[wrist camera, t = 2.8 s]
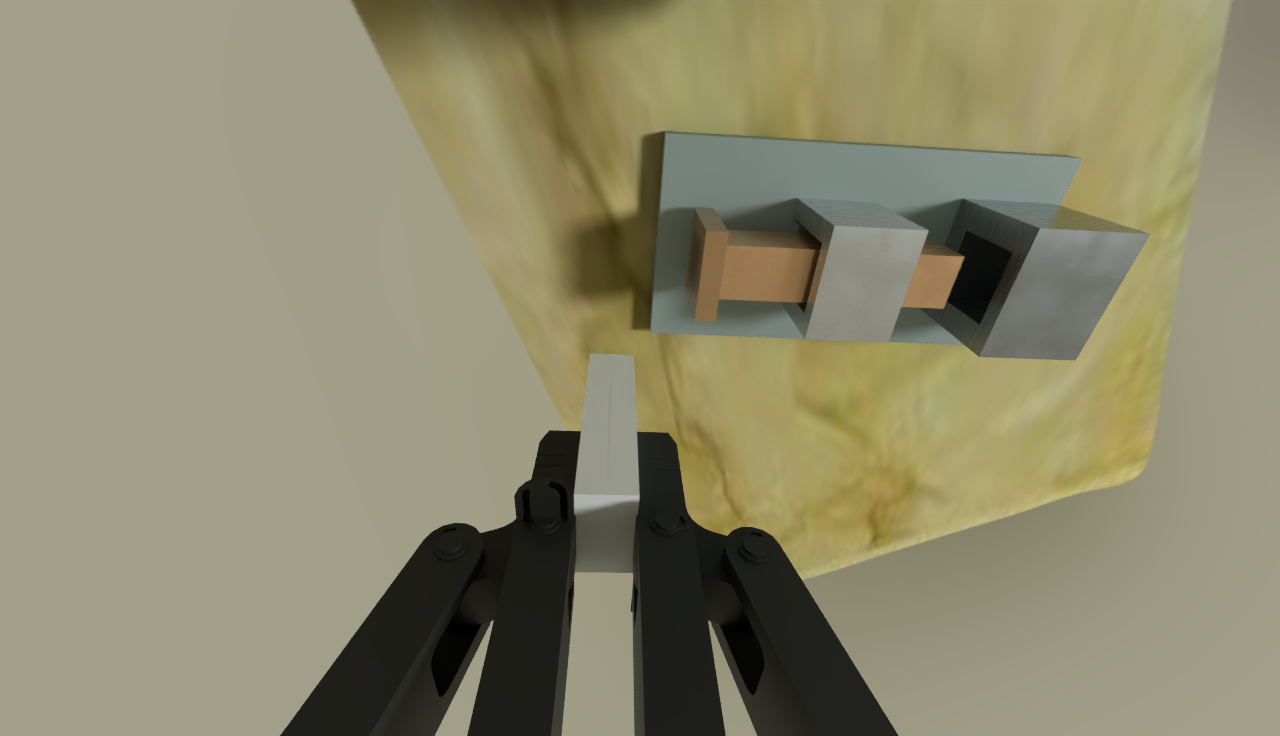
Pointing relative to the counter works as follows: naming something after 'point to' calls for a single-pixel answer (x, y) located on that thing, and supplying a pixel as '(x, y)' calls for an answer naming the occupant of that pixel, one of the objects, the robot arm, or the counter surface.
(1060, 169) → the board
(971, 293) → the socket
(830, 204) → the sleeve
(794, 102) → the counter surface
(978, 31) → the counter surface
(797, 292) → the bolt
